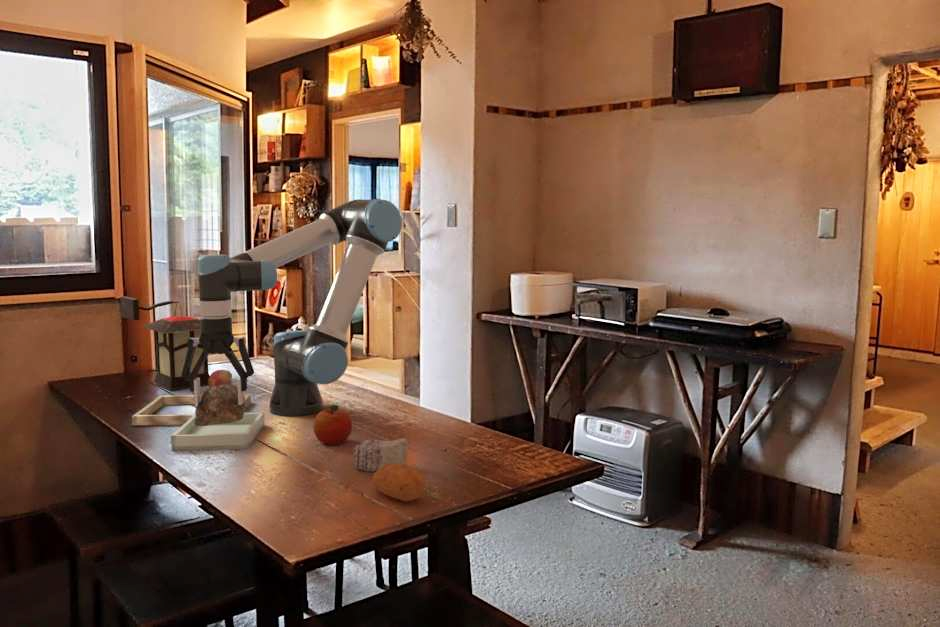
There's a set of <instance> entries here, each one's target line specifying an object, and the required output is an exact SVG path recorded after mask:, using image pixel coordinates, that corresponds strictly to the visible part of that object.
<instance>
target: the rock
mask: <svg viewBox="0 0 940 627" xmlns="http://www.w3.org/2000/svg"><path fill="white" fill-rule="evenodd" d="M201 395H202V399H201V401H200V403H199V405H196V407H195V412H194V414H195V415H196V417H195V425H197V426H208V425H215V424H222V423H231V422H235V421H239V420H241V419H242V418H243V414H244V413H246V411H247V408H245V398H244V402H243V404H242V405H238V386H237V385H235V384H232V385H231V384H230V385H228V384H227V385H219V386H214V387H211V388H210V387H208V388H206V389H205V390H204V391H203V393H202V394H201Z"/></svg>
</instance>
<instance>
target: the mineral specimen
mask: <svg viewBox="0 0 940 627" xmlns="http://www.w3.org/2000/svg"><path fill="white" fill-rule="evenodd" d="M408 442H409V441H408V439H406V438H397V439H394V440H391V441H390V440H379V439H366V440H363V441H362V442H360V443H359V444H356V445H355V446H354V448H353V453H352V454H353V455H352V456H353V458H352V462H353V465H354V467H355V469H357V470H360V471H365V472H376V471H377V470H378V469H379V468H381V467H383V466H385V465H388V464H403V465H405V464H406V462H407V460H408V456H409V448H410V447H409V443H408ZM405 466H406V465H405Z"/></svg>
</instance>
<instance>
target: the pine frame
mask: <svg viewBox="0 0 940 627" xmlns="http://www.w3.org/2000/svg"><path fill="white" fill-rule="evenodd" d="M200 395H201V399H202V394H200ZM243 396H244V398H245V408H246V409H247V408H248V407H249V406H250V404H251V403H252V395H251V394H243ZM185 404H189V405H195V398H194V395H193V394H191V395H189V394H188V395H187V394H186V395H181V394H180V395H159V396H158V397H157V398H155V399H154V400H152V401H151V402H150V403H148V404H147V405H145V406H144V407H142V409H140V410H139V411H137V412H136V413H134V414H133V415H132V416H131V421H132V422H131V426H178V425H180V426H182V425H184V424H185V423H186V422H187V421H188V420H189V419H190V418H191V417H192V416H193V415H194V414H195V413H192V414H189V413H187V414H185V413H184V414H154V413H155V412H156V411H158V410H159V409H160V408H162V407H163V406H167V405H169V406H173V405H175V406H176V405H177V406H179V405H180V406H182V405H183V406H184V405H185Z"/></svg>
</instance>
